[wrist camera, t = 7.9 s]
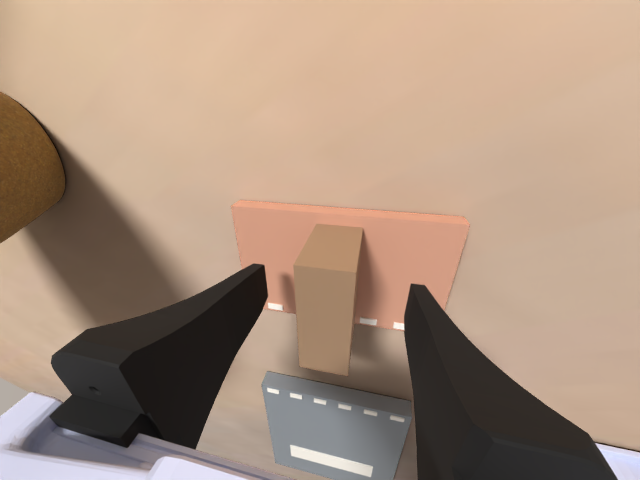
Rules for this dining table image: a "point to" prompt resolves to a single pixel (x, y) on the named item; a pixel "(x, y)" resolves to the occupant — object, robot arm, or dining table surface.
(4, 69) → the dining table surface
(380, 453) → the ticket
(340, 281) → the stub
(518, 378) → the dining table surface
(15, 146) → the plant pot
